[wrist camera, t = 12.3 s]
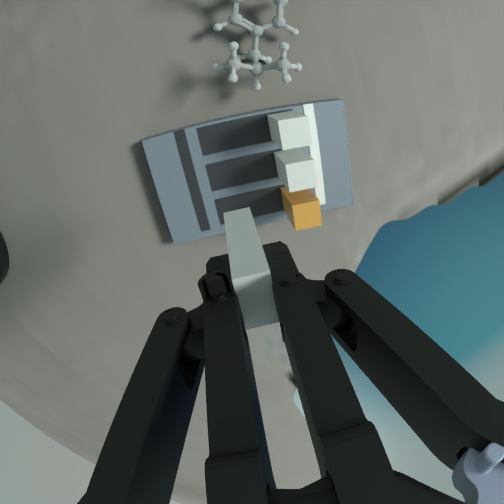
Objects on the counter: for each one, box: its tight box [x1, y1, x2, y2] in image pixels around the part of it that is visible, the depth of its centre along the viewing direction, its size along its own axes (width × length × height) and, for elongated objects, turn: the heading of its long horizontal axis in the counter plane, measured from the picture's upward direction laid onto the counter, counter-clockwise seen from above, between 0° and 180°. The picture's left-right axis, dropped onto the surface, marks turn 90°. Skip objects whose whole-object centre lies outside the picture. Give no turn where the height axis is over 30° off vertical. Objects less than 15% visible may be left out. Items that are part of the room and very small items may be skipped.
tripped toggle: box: [280, 187, 322, 231], centre depth 36 cm, size 3×3×6 cm
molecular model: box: [211, 0, 302, 91], centre depth 25 cm, size 19×10×10 cm, turn 173°
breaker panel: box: [142, 99, 353, 245], centre depth 35 cm, size 24×14×8 cm, turn 101°
